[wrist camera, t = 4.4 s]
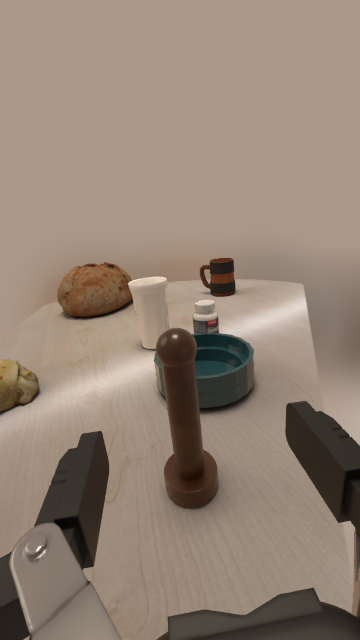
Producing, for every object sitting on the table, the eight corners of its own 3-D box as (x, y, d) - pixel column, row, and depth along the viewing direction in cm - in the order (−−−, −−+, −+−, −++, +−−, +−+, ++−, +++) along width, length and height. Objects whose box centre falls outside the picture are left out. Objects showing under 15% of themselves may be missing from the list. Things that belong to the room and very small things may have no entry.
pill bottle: (210, 349, 56) (207, 307, 53) (190, 344, 59) (186, 304, 56) (224, 339, 59) (222, 300, 57) (204, 335, 63) (201, 298, 60)
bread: (109, 320, 80) (99, 269, 76) (45, 319, 87) (32, 273, 82) (145, 296, 104) (139, 255, 99) (92, 297, 111) (84, 259, 106)
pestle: (204, 455, 31) (191, 314, 25) (227, 495, 26) (218, 332, 21) (160, 472, 29) (136, 326, 24) (176, 517, 25) (151, 349, 19)
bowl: (224, 352, 54) (222, 326, 52) (274, 393, 40) (275, 359, 38) (149, 373, 49) (144, 345, 47) (177, 426, 36) (172, 390, 34)
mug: (203, 291, 102) (201, 259, 98) (236, 289, 99) (235, 257, 95) (199, 297, 95) (196, 263, 91) (234, 296, 91) (233, 260, 87)
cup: (145, 356, 56) (134, 287, 51) (133, 343, 63) (123, 281, 58) (180, 345, 59) (173, 279, 54) (166, 334, 66) (158, 275, 61)
